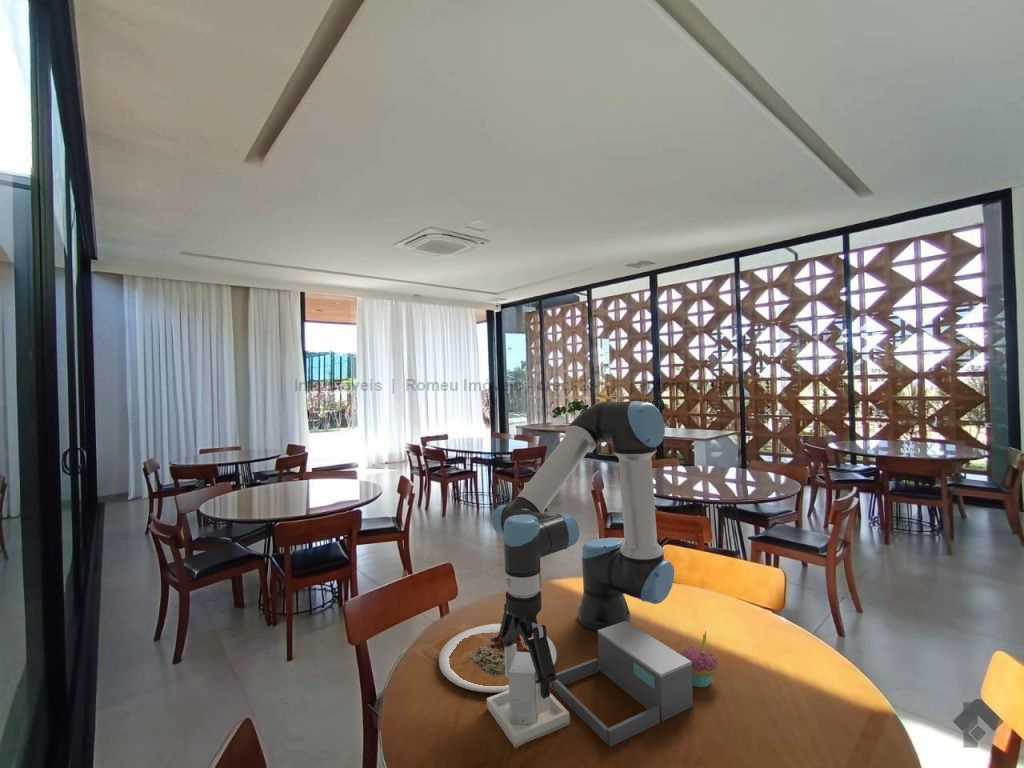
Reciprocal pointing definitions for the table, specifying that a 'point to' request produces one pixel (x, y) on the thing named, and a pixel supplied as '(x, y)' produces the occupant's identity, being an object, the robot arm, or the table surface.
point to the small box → (522, 690)
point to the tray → (523, 732)
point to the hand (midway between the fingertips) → (526, 692)
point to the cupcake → (701, 664)
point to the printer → (633, 680)
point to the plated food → (483, 657)
